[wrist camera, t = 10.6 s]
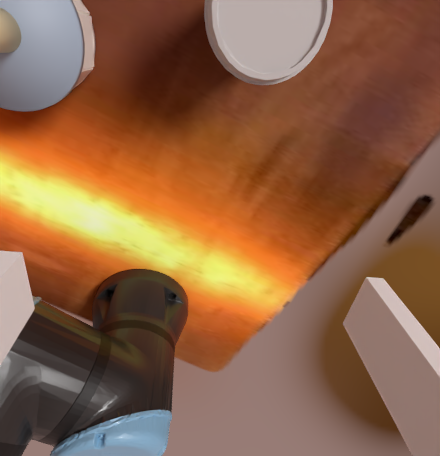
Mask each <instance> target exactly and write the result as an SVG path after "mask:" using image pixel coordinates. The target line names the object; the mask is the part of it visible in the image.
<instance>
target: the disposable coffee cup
mask: <svg viewBox="0 0 440 456" xmlns="http://www.w3.org/2000/svg"><path fill="white" fill-rule="evenodd" d="M332 8H333V0H205V9H204V18H205V26H206V32H207V36H208V40H209V43H210V45H211V48H212V50H213V52H214V54H215V55H216V57H217V59H218V60H219V61H220V63H221V64H222V65H223V66H224V68H225V69H226V70H227V71H229V72H230V73H231V74H233V75H234V76H235V77H236V78H238V79H241V80H243V81H245V82H247V83H251V84H256V85H271V84H277V83H280V82H282V81H285V80H288V79H289V78H291V77H293V76H295V75H296V74H297V73H299V72H300V71H301V70H303V69H304V68H305V67H306V66H307V65H308V64H309V63H310V62H311V60H312V59H313V58H314V56H315V55H316V54H317V52H318V51H319V49H320V47H321V45H322V43H323V41H324V39H325V37H326V34H327V31H328V28H329V25H330V20H331V14H332Z"/></svg>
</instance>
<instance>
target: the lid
mask: <svg viewBox="0 0 440 456" xmlns="http://www.w3.org/2000/svg"><path fill="white" fill-rule="evenodd" d="M84 55H85V43H84V35H83V29H82V25H81V21H80V18H79V15H78V12H77V10H76V7H75V5H74V3H73V1H72V0H0V107H1V108H4V109H8V110H13V111H36V110H40V109H44V108H46V107H49V106H51V105H54V104H56V103H57V102H59V101H61V100H62V99H64V98H65V97H66V96H67V95H68V94H69V93H70V92H71V91H72V90H73V88H74V87H75V85H76V83H77V82H78V80H79V77H80V75H81V72H82V68H83V64H84Z"/></svg>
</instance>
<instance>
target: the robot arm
mask: <svg viewBox="0 0 440 456" xmlns="http://www.w3.org/2000/svg"><path fill="white" fill-rule="evenodd" d="M41 299H42V298H40V297H34V296H32V293H31V289H30V284H29V280H28V276H27V271H26V267H25V263H24V258H23V254H22V252H10V251H0V456H22V454H23V452H24V450H25V448H26V446H27V445H28V443H29V442H30V440H31V439H32V440H36V441H39V442H42V443H46V444H49V445H52V446H53V447H54V449H53V450H52V451H51V454H50V456H162V455H163V454H164V451H165V449H166V446H167V442H168V434H169V426H170V421H171V419H172V413H171V410H172V390H173V370H174V352H175V345H176V343H177V341H178V339H179V336H180V334H181V332H182V330H183V328H184V326H185V323H186V320H187V316H188V299H187V295H186V293H185V291H184V290H183V288H182V287H181V286H180V285H179V284H178V283H177V282H176V281H175V280H174V279H172V278H171V277H169V276H167V275H165V274H162V273H160V272H156V271H152V270H146V269H132V270H126V271H122V272H119V273H117V274H114V275H112V276H111V277H109V278H108V279H106V280H105V281H104V282H103V283H102V284H101V286H100V287H99V289H98V291H97V294H96V296H95V299H94V302H93V307H92V316H93V327H92V326H90V325H88V324H86V323H84V322H82V321H80V320H78V319H76V318H74V317H72V316H70V315H68V314H66V313H64V312H62V311H60V310H58V309H57V308H55V307H53V306H51V305H49V304H47V303H45V302H43V301H41ZM343 325H344V327H345V329H346V331H347V332H348V335H349V336H350V338H351V340H352V342H353V344H354V346H355V348H356V350H357V351H358V354H359V355H360V357H361V359H362V361H363V363H364V365H365V367H366V369H367V371H368V372H369V374H370V376H371V378H372V380H373V382H374V384H375V386H376V388H377V390H378V391H379V393H380V395H381V397H382V399H383V401H384V403H385V405H386V406H387V408H388V410H389V412H390V414H391V416H392V418H393V420H394V422H395V423H396V425H397V427H398V429H399V431H400V433H401V435H402V436H403V439H404V440H405V443H406V444H407V446H408V448H409V450H410V452H411V454H412V456H440V348H439V347H438V346H437V345H436V343H435V342H434V341H433V340H432V338H431V337H430V336H429V335H428V334H427V332H426V331H425V330H424V328H423V327H422V326H421V325H420V323H419V322H418V321H417V320H416V319H415V317H414V316H413V315H412V314H411V312H410V311H409V310H408V309H407V307H406V306H405V305H404V304H403V302H402V301H401V300H400V299H399V297H398V296H397V295H396V294H395V293H394V291H393V290H392V289H391V287H390V286H389V285H388V284H387V282H386V281H385V280H384V279H383V278H371V277H366V278H365V280H364V282H363V285H362V286H361V288H360V290H359V292H358V295H357V296H356V299H355V301H354V302H353V304H352V306H351V308H350V310H349V312H348V314H347V316H346V318H345V320H344V322H343Z"/></svg>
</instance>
